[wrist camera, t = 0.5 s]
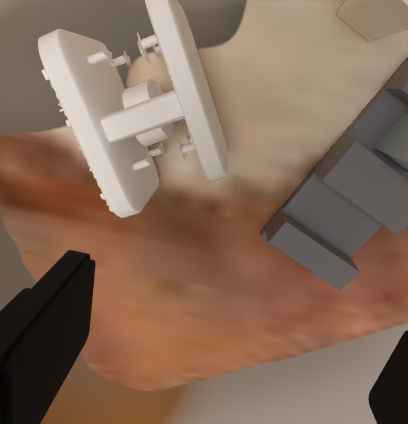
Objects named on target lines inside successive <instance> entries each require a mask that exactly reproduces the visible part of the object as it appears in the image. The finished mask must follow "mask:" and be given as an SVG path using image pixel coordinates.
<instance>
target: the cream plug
mask: <svg viewBox="0 0 408 424" xmlns="http://www.w3.org/2000/svg"><path fill="white" fill-rule="evenodd" d="M336 15H337V16H338V17H339V18H340V19H342V20H343V21H344V22H345V23H346V24H348V25H349V26H350V27H351V28H352V29H354V30H355V31H356V32H357V33H358V34H360V35H361V36H362V37H363V38H365V39H366V40H367V41H370V40H374V39H377V38H380V37H384V36H387V35H390V34H394V33H397V32H400V31H403V30H407V29H408V0H345V1H344V3H343V4H342V6H341V7H340V8H339V10H338V11H337V13H336Z"/></svg>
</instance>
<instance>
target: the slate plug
mask: <svg viewBox="0 0 408 424" xmlns="http://www.w3.org/2000/svg"><path fill="white" fill-rule="evenodd" d="M373 148H374V149H376V150H377V151H378V152H380V153H381V154H382V155H384V156H385V157H386V158H388V159H389V160H390V161H391V162H393V163H394V164H395V165H397V166H398V167H399V168H401V169H402V170H404V171H406V172H408V114H403V115H402V116H401V117H400V118H399V119H398V120H397V121H396V123H395V124H394V125H393V126H392V127H391V128H390V129H389V130H388V132H387V133H386V134H385V135H384V136H383V137H382V138H381V139H380V140H379V142H378V143H377V144H376V145H375V146H374V147H373Z"/></svg>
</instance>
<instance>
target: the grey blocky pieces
mask: <svg viewBox="0 0 408 424" xmlns="http://www.w3.org/2000/svg"><path fill="white" fill-rule="evenodd" d="M403 114H408V58H407V59H406V60H405V61H404V63H403V64H402V65H401V66H400V67H399V68H398V70H397V71H396V72H395V73H394V74H393V76H392V77H391V78H390V79H389V80H388V81H387V83H386V84H385V85H384V86H383V87H382V89H381V90H380V91H379V92H378V93H377V95H376V96H375V97H374V98H373V99H372V100H371V102H370V103H369V104H368V105H367V106H366V108H365V109H364V110H363V111H362V112H361V113H360V115H359V116H358V117H357V118H356V119H355V121H354V122H353V123H352V124H351V125H350V127H349V128H348V129H347V130H346V131H345V132H344V134H343V135H342V136H341V137H340V138H339V140H338V141H337V142H336V143H335V144H334V145H333V147H332V148H331V149H330V150H329V151H328V153H327V154H326V155H325V156H324V157H323V158H322V160H321V161H320V162H319V163H318V164H317V166H316V167H315V168H314V169H313V170H312V172H311V173H310V174H309V175H308V176H307V177H306V179H305V180H304V181H303V182H302V183H301V185H300V186H299V187H298V188H297V189H296V190H295V192H294V193H293V194H292V195H291V196H290V198H289V199H288V200H287V201H286V202H285V204H284V205H283V206H282V207H281V208H280V209H279V211H278V212H277V213H276V214H275V215H274V217H273V218H272V219H271V220H270V221H269V222H268V224H267V225H266V226H265V227H264V228H263V230H262V231H261V232H260V233H261V236H262V237H263V238H265V239H266V240H268V243H269V244H271V245H272V246H274V247H275V248H277V249H278V250H280V251H281V252H283V253H284V254H286V255H287V256H289V257H290V258H292V259H293V260H295V261H296V262H298V263H299V264H301V265H302V266H304V267H305V268H307V269H308V270H310V271H311V272H313V273H314V274H316V275H317V276H319V277H320V278H322V279H323V280H325V281H326V282H328V283H329V284H331V285H332V286H334V287H335V288H337V289H338V290H341V289H342V288H343V287H344V286H346V285H347V284H348V283H349V282H350V281H351V280H352V279H353V278H354V277H355V276H356V275H357V274H358V273H359V272H360V271H359V270H358V269H357V267H356V266H355V264H354V263H353V261H352V260H351V257H352V256H353V255H354V254H355V253H356V252H357V251H358V250H359V249H360V248H361V247H362V246H363V245H364V244H365V243H366V242H367V241H368V240H369V239H370V238H371V237H372V236H373V235H374V234H375V233H376V232H377V231H378V230H379V229H380V228H381V227H382V226H383V225H385V226H386V227H388V228H389V229H390V230H392V231H393V232H394V233H396V234H397V235H399V234H400V233H401V232H402V231H403V230H404V229H405V228H406V227H407V226H408V172H406V171H404V170H402V169H401V168H399V167H398V166H397V165H395V164H394V163H393V162H391V161H390V160H389V159H388V158H386V157H385V156H384V155H382V154H381V153H380V152H378V151H377V150H376V149H374V148H373V147H374V146H375V145H376V144H377V143H378V142H379V140H380V139H381V138H382V137H383V136H384V135H385V134H386V133H387V132H388V130H389V129H390V128H391V127H392V126H393V125H394V124H395V123H396V121H397V120H398V119H399V118H400V117H401V116H402V115H403Z"/></svg>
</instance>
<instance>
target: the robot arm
mask: <svg viewBox="0 0 408 424" xmlns="http://www.w3.org/2000/svg"><path fill="white" fill-rule="evenodd" d="M94 275H95V261H94V260H91V259H90V255H89V254H87V253H82V252H78V251H73V250H69V251H67V252H66V253H65V254H64V255H63V257H62V258H61V259H60V260H59V261H58V262H57V263H56V264H55V265H54V266H53V267H52V268H51V269H50V270H49V271H48V272H47V273H46V274H45V275H44V276H43V277H42V278H41V279H40V280H39V281H38V282H37V283H36V284H35V285H34V287H32V288H31V289H30V288H26V289H23V290H22V291H21V292H20V293H18V295H16V297H14V299H12V301H10V302H9V303H8V304H7V305H6V306H5V307H4V308H3V309H2V310H1V311H0V424H40V423H41V421H42V419H43V418H44V416H45V414H46V412H47V411H48V409H49V407H50V405H51V403H52V401H53V400H54V398H55V396H56V395H57V393H58V391H59V389H60V387H61V386H62V384H63V382H64V380H65V378H66V377H67V375H68V373H69V371H70V370H71V368H72V366H73V364H74V362H75V361H76V359H77V357H78V355H79V353H80V352H81V350H82V348H83V346H84V345H85V343H86V340H87V338H88V335H89V330H90V319H91V308H92V297H93V286H94ZM369 405H370V408H371V410H372V413H373V415H374V417H375V420H376V422H377V424H408V331H405V332H404V334H403V335H402V337H401V339H400V341H399V342H398V344H397V346H396V348H395V350H394V351H393V353H392V355H391V356H390V358H389V360H388V362H387V363H386V365H385V367H384V368H383V370H382V372H381V374H380V375H379V377H378V379H377V381H376V383H375V384H374V386H373V388H372V389H371V391H370V393H369Z"/></svg>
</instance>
